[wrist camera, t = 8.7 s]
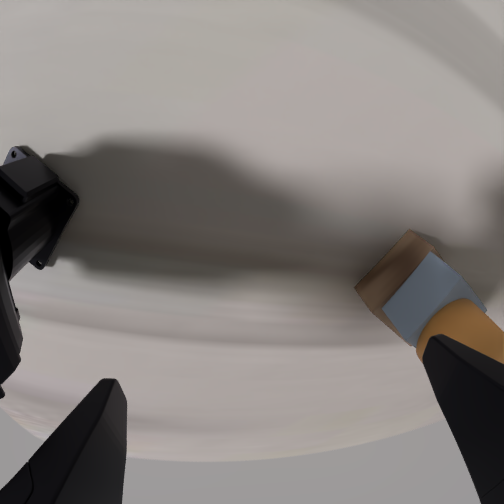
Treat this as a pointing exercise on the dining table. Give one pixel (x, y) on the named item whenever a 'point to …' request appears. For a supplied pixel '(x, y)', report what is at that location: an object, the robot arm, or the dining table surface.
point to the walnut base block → (393, 274)
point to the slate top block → (426, 297)
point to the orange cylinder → (465, 329)
